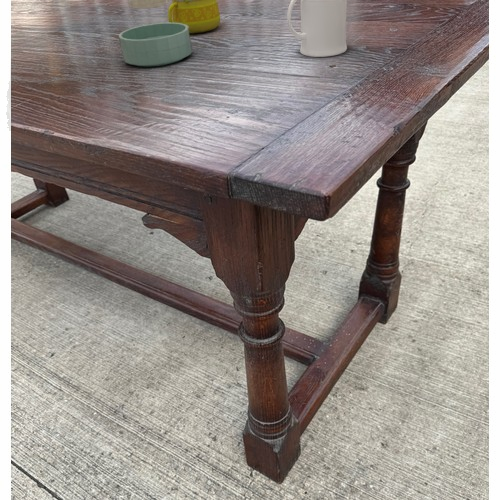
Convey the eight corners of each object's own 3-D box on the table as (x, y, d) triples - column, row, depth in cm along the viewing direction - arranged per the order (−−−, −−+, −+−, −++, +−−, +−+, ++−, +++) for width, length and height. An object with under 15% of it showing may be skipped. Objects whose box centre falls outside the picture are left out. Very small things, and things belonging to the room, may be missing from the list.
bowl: (161, 71, 92) (156, 42, 89) (110, 64, 98) (103, 37, 95) (205, 51, 100) (202, 24, 97) (156, 46, 106) (151, 21, 104)
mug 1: (201, 22, 122) (193, -35, 115) (231, 27, 115) (225, -33, 108) (157, 34, 116) (146, -25, 108) (186, 40, 109) (176, -23, 102)
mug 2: (298, 64, 88) (296, -13, 81) (276, 53, 95) (272, -19, 88) (356, 50, 92) (358, -24, 85) (330, 41, 98) (331, -29, 91)
